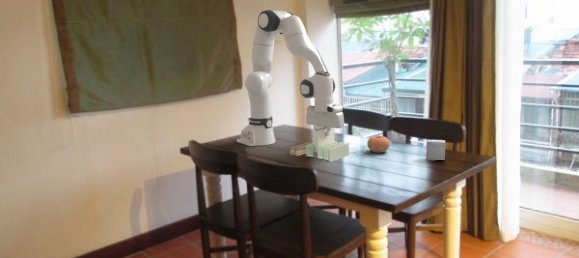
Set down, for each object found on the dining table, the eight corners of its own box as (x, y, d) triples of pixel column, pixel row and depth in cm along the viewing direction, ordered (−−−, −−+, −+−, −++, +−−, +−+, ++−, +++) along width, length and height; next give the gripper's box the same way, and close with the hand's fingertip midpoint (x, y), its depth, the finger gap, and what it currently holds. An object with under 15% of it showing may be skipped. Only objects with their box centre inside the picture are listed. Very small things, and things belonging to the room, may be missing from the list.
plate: (315, 152, 221) (314, 126, 218) (331, 146, 230) (331, 122, 228) (318, 152, 220) (317, 127, 217) (334, 147, 229) (334, 122, 227)
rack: (306, 157, 223) (305, 145, 222) (325, 150, 234) (325, 139, 233) (329, 162, 214) (329, 149, 213) (348, 155, 225) (348, 142, 224)
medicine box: (444, 158, 214) (445, 140, 212) (444, 161, 209) (445, 142, 208) (426, 157, 216) (427, 139, 214) (426, 160, 212) (426, 141, 210)
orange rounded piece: (380, 147, 237) (380, 132, 235) (394, 152, 227) (394, 136, 226) (362, 151, 232) (362, 135, 230) (376, 155, 222) (376, 139, 221)
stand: (288, 155, 228) (288, 147, 227) (309, 148, 239) (309, 141, 238) (297, 157, 224) (297, 149, 223) (319, 150, 235) (318, 142, 234)
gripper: (302, 105, 225) (303, 134, 228) (337, 109, 212) (338, 139, 214) (311, 104, 230) (312, 131, 232) (345, 107, 216) (346, 136, 219)
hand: (324, 135), depth 223 cm, fingers closed on plate, 2 cm apart
